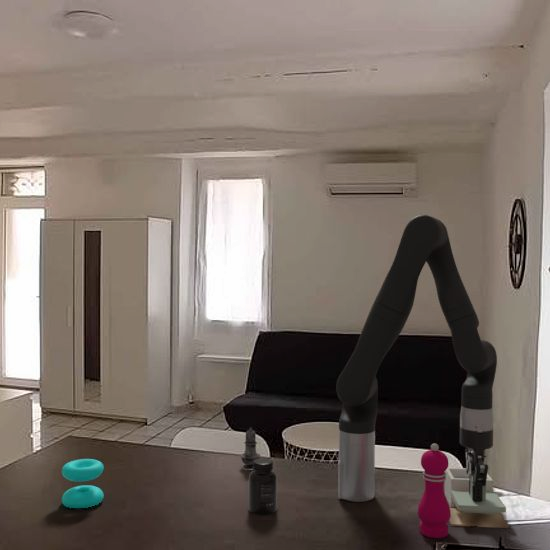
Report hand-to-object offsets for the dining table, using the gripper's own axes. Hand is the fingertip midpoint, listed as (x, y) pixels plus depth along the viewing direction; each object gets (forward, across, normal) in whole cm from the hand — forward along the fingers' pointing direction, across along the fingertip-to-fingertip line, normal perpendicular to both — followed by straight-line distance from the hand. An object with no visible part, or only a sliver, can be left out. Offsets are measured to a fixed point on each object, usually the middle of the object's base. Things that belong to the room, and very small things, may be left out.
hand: (475, 498), depth 154 cm
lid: (+2, 0, 0) cm, 2 cm away
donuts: (+5, 0, -96) cm, 96 cm away
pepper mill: (+5, +9, -11) cm, 15 cm away
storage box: (+5, -11, 0) cm, 12 cm away
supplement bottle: (+5, 0, -50) cm, 51 cm away
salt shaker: (+5, -32, -58) cm, 66 cm away
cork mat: (+5, 0, 0) cm, 5 cm away
